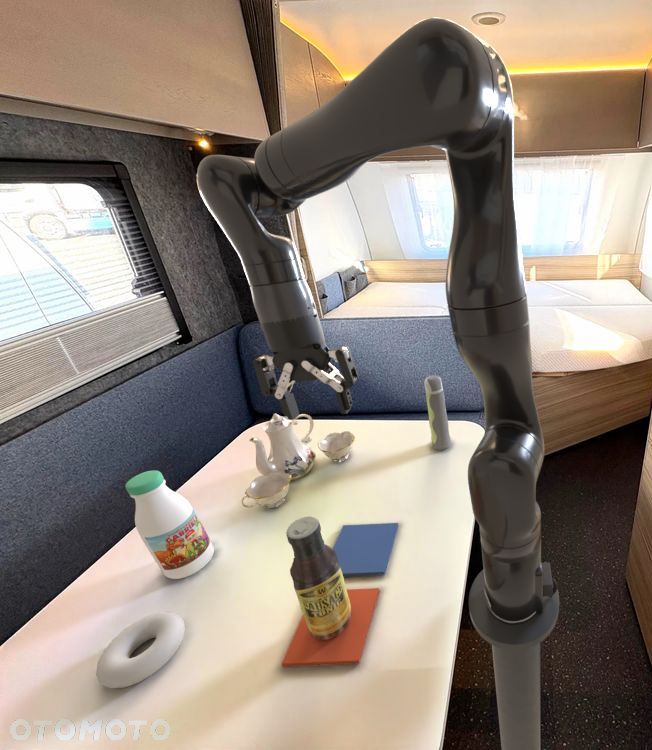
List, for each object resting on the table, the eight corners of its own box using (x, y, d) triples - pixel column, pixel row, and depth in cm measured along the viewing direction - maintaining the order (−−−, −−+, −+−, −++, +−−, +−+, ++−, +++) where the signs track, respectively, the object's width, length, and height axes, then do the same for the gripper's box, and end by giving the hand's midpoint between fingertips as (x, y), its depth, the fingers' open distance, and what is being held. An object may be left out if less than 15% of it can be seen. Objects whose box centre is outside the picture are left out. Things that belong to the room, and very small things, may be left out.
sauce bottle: (314, 652, 56) (273, 557, 47) (307, 616, 61) (268, 525, 52) (360, 625, 59) (329, 532, 50) (349, 594, 64) (319, 504, 55)
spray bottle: (445, 437, 104) (437, 371, 95) (454, 446, 101) (446, 377, 92) (429, 444, 102) (418, 376, 93) (437, 453, 98) (427, 383, 89)
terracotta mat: (379, 591, 65) (379, 588, 64) (359, 663, 55) (358, 660, 55) (314, 593, 65) (313, 590, 64) (282, 666, 55) (281, 663, 55)
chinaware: (272, 531, 80) (251, 470, 72) (221, 501, 86) (196, 442, 78) (368, 453, 102) (360, 400, 94) (322, 434, 108) (311, 383, 100)
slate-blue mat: (398, 525, 77) (397, 522, 77) (384, 574, 67) (383, 571, 67) (344, 528, 77) (343, 525, 77) (322, 577, 68) (321, 574, 67)
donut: (93, 710, 51) (183, 666, 56) (78, 697, 50) (173, 652, 54) (115, 642, 59) (193, 608, 63) (103, 629, 58) (184, 595, 62)
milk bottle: (154, 582, 68) (97, 496, 60) (184, 546, 75) (138, 464, 67) (197, 579, 68) (147, 493, 60) (224, 543, 75) (182, 462, 67)
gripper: (223, 325, 52) (263, 431, 58) (325, 313, 51) (355, 420, 57) (256, 314, 59) (289, 409, 65) (346, 303, 58) (371, 400, 64)
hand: (320, 414), depth 61 cm, fingers open, 8 cm apart
